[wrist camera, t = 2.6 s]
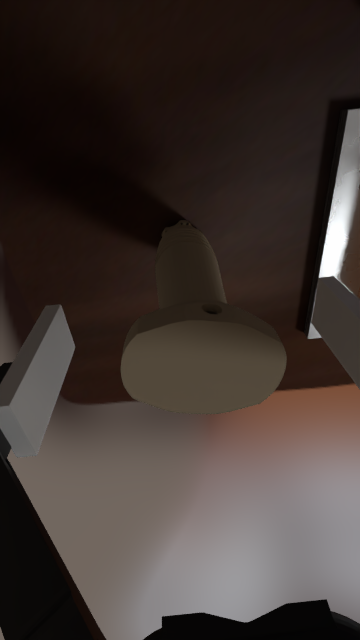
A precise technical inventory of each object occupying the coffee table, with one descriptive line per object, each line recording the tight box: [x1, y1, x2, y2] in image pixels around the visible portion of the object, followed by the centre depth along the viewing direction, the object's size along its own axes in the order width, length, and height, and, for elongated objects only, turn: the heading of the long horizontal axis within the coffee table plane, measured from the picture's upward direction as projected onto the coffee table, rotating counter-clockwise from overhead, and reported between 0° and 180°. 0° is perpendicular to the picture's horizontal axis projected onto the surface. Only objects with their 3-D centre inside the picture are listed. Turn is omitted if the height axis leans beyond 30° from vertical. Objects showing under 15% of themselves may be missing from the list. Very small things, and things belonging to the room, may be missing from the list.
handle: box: [121, 220, 287, 414], centre depth 19 cm, size 5×6×15 cm
